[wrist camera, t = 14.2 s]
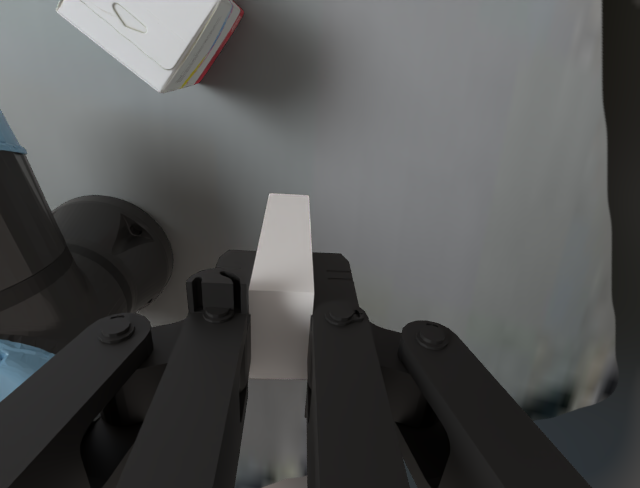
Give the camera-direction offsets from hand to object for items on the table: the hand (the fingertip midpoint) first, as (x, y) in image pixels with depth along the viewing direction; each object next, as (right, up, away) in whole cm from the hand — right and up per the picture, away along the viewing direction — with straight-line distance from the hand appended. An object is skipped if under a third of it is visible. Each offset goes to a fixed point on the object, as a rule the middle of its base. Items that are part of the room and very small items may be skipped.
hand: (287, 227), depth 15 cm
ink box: (-12, +21, +22) cm, 33 cm away
